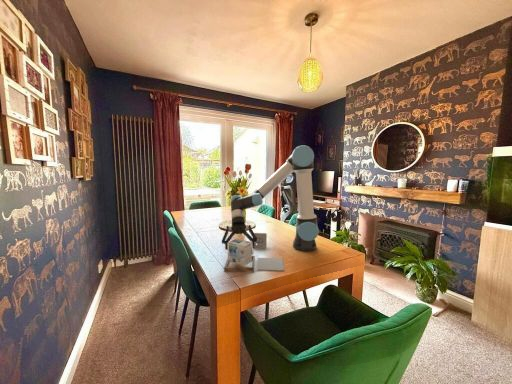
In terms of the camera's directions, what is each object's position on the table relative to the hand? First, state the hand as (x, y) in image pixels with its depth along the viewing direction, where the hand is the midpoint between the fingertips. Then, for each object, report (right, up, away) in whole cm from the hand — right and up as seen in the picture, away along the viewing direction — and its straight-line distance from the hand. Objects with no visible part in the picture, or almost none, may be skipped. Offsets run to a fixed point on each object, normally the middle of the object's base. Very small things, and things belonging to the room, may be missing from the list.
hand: (240, 254), depth 112 cm
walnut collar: (0, -7, +3) cm, 7 cm away
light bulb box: (0, -4, +2) cm, 5 cm away
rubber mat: (+16, -7, +4) cm, 18 cm away
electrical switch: (+10, -4, +30) cm, 32 cm away
